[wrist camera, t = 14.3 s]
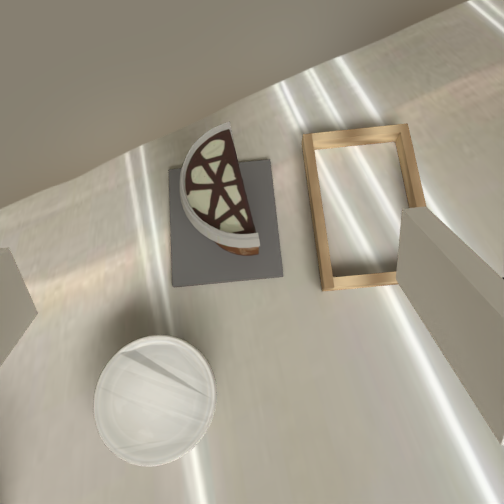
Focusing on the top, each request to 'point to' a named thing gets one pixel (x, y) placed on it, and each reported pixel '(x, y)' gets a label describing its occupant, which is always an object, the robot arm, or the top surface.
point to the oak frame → (310, 144)
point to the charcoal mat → (214, 257)
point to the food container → (218, 193)
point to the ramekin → (154, 400)
